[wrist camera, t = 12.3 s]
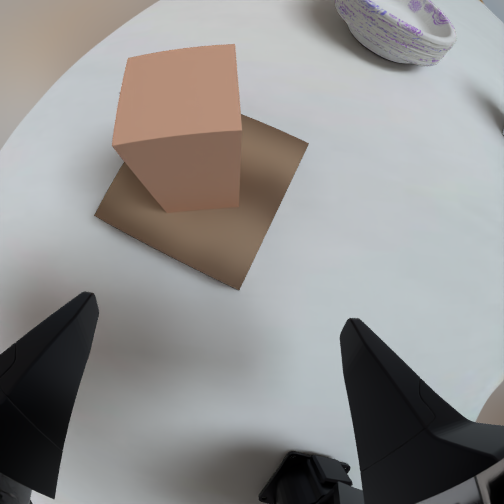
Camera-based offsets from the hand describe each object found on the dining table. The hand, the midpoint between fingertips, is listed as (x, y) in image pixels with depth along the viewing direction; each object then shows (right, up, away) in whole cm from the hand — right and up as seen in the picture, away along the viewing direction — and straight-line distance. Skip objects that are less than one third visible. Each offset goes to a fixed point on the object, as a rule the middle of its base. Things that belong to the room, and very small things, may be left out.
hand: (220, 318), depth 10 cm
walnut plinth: (-3, +7, +14) cm, 16 cm away
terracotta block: (-3, +8, +11) cm, 13 cm away
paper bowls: (+18, +30, +18) cm, 39 cm away
